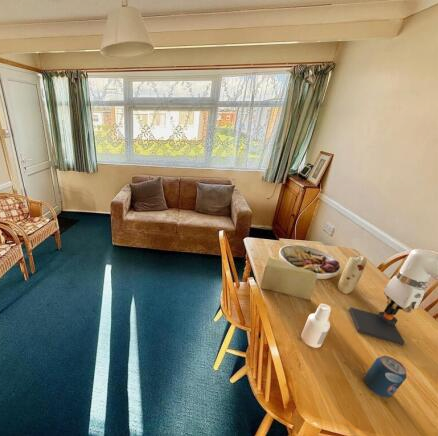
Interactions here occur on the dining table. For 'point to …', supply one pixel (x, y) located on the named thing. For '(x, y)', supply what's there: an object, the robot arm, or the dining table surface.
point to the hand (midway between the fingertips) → (389, 313)
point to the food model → (351, 274)
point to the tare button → (388, 316)
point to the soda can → (385, 376)
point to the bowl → (310, 260)
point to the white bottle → (317, 326)
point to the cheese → (288, 279)
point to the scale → (376, 326)
